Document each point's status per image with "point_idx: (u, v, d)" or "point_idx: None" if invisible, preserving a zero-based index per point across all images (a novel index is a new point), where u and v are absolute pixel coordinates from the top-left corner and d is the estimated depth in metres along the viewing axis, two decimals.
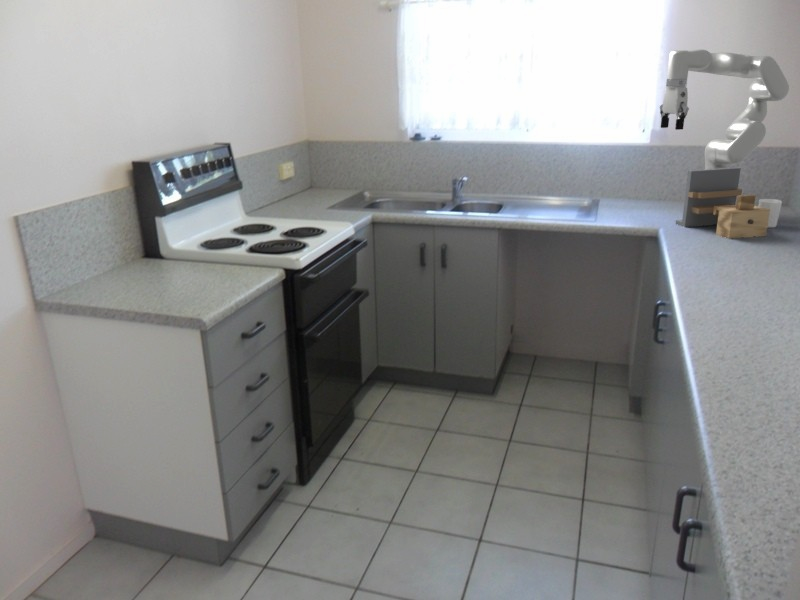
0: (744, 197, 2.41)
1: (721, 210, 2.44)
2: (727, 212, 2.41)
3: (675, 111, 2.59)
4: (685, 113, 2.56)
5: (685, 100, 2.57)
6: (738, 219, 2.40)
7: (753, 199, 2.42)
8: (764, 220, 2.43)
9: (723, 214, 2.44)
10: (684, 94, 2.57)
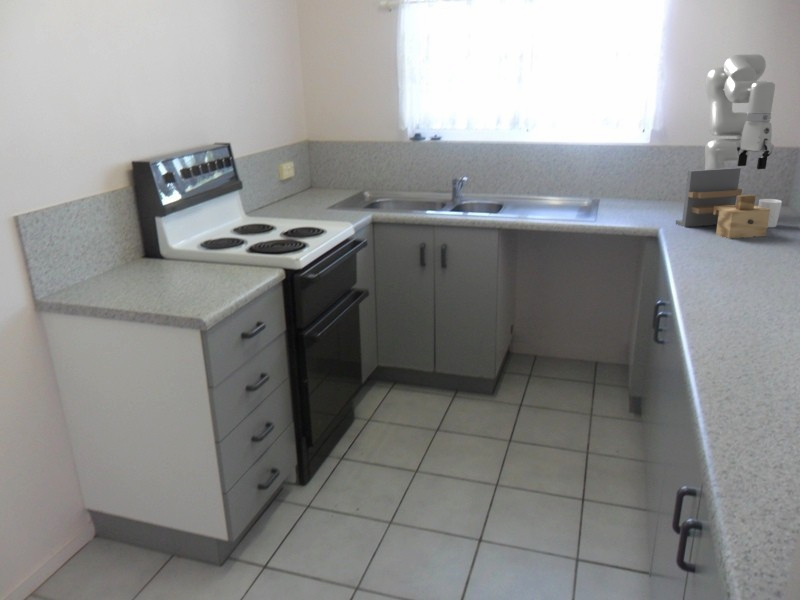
0: (744, 197, 2.41)
1: (721, 210, 2.44)
2: (727, 212, 2.41)
3: (757, 149, 2.32)
4: (769, 151, 2.29)
5: (769, 137, 2.31)
6: (738, 219, 2.40)
7: (753, 199, 2.42)
8: (764, 220, 2.43)
9: (723, 214, 2.44)
10: (768, 130, 2.31)
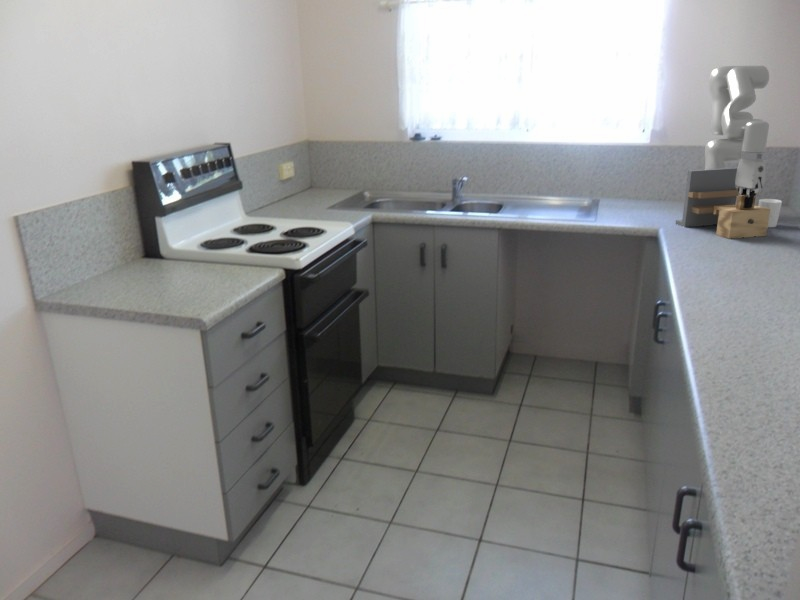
0: (744, 197, 2.41)
1: (721, 210, 2.44)
2: (727, 212, 2.41)
3: (751, 186, 2.37)
4: None
5: (763, 175, 2.35)
6: (738, 218, 2.40)
7: (753, 198, 2.42)
8: (764, 220, 2.43)
9: (723, 214, 2.43)
10: (762, 168, 2.35)
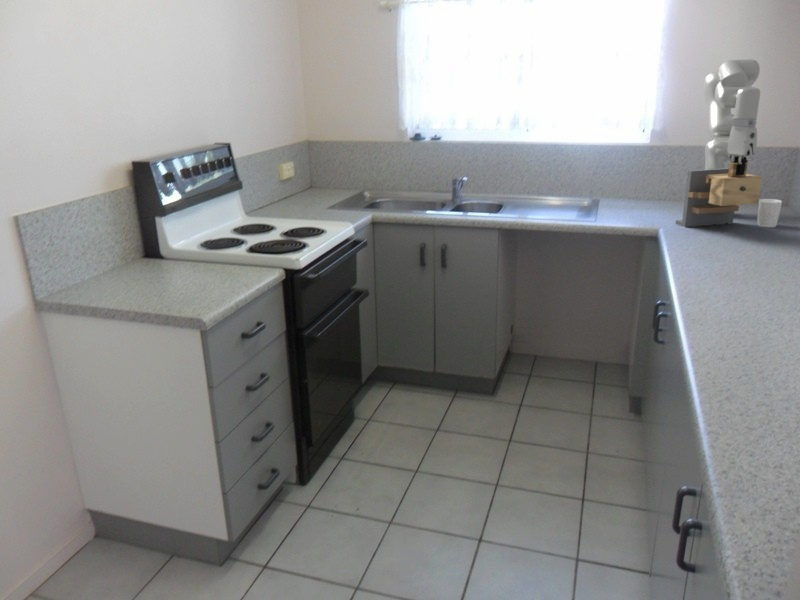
0: (736, 164, 2.43)
1: (713, 178, 2.46)
2: (719, 179, 2.43)
3: (743, 153, 2.39)
4: None
5: (754, 141, 2.37)
6: (730, 186, 2.42)
7: (745, 166, 2.44)
8: (756, 187, 2.45)
9: (715, 181, 2.46)
10: (753, 135, 2.37)
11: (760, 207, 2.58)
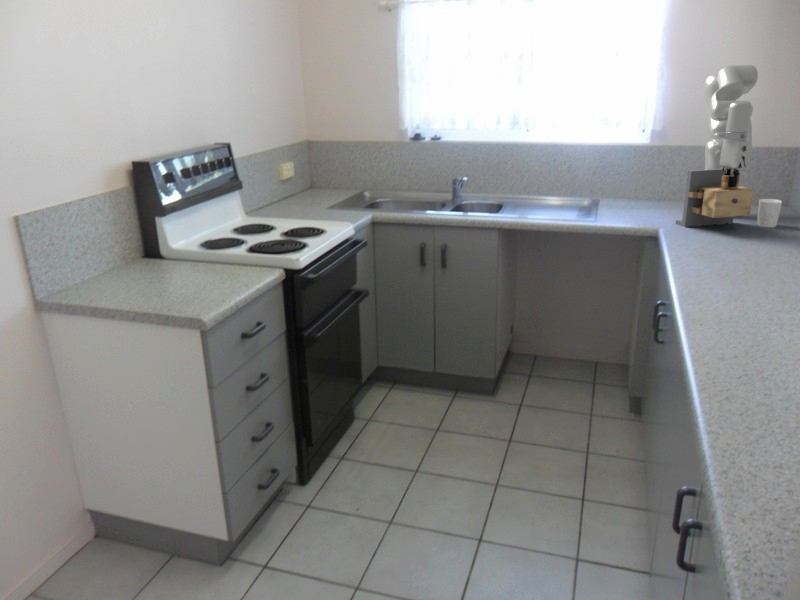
0: (728, 177, 2.48)
1: (706, 190, 2.51)
2: (712, 192, 2.48)
3: (735, 166, 2.43)
4: None
5: (746, 154, 2.42)
6: (722, 198, 2.47)
7: (737, 179, 2.49)
8: (748, 199, 2.50)
9: (708, 194, 2.50)
10: (745, 148, 2.42)
11: (760, 207, 2.58)
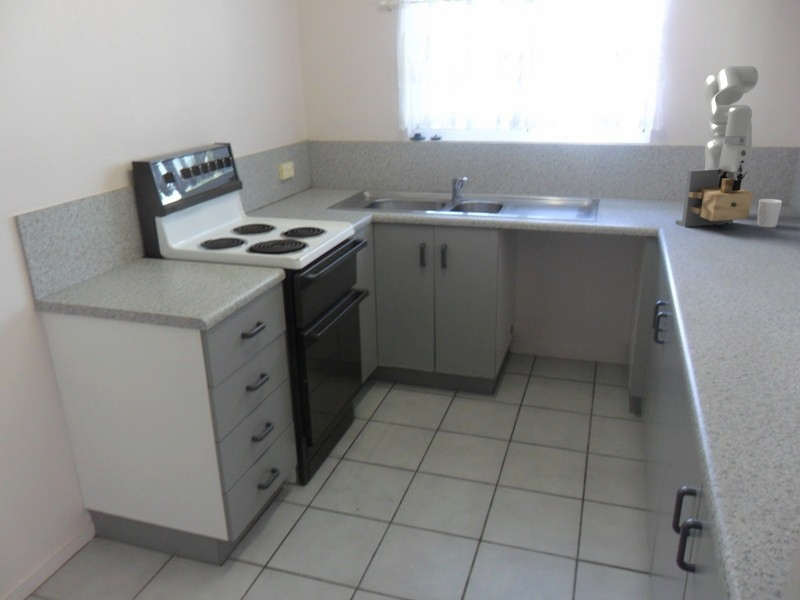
0: (728, 180, 2.48)
1: (706, 192, 2.51)
2: (711, 195, 2.49)
3: (734, 170, 2.44)
4: (743, 174, 2.43)
5: (745, 159, 2.43)
6: (721, 202, 2.48)
7: None
8: (747, 203, 2.51)
9: (707, 196, 2.51)
10: (744, 152, 2.42)
11: (760, 207, 2.58)
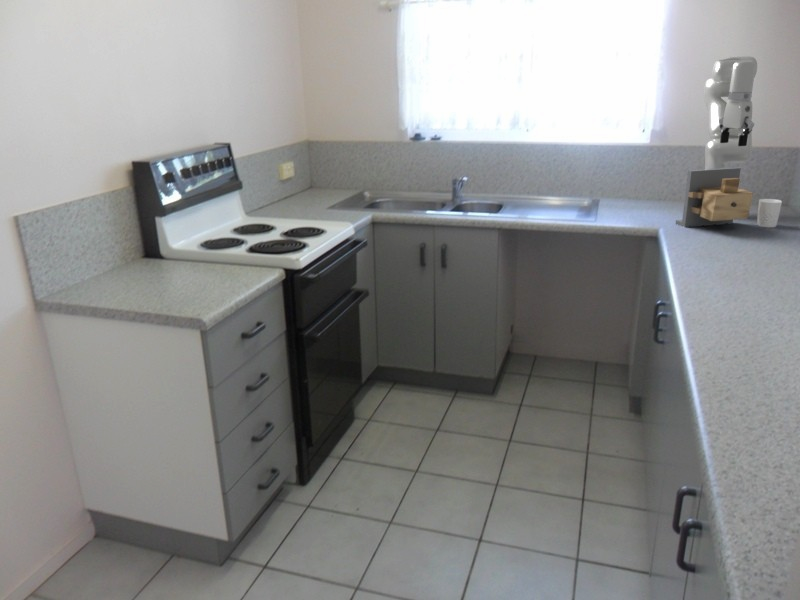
0: (728, 180, 2.48)
1: (706, 192, 2.51)
2: (711, 195, 2.49)
3: (738, 126, 2.41)
4: (750, 129, 2.38)
5: (750, 115, 2.39)
6: (721, 202, 2.48)
7: (737, 182, 2.49)
8: (747, 203, 2.51)
9: (707, 196, 2.51)
10: (749, 108, 2.39)
11: (760, 207, 2.58)
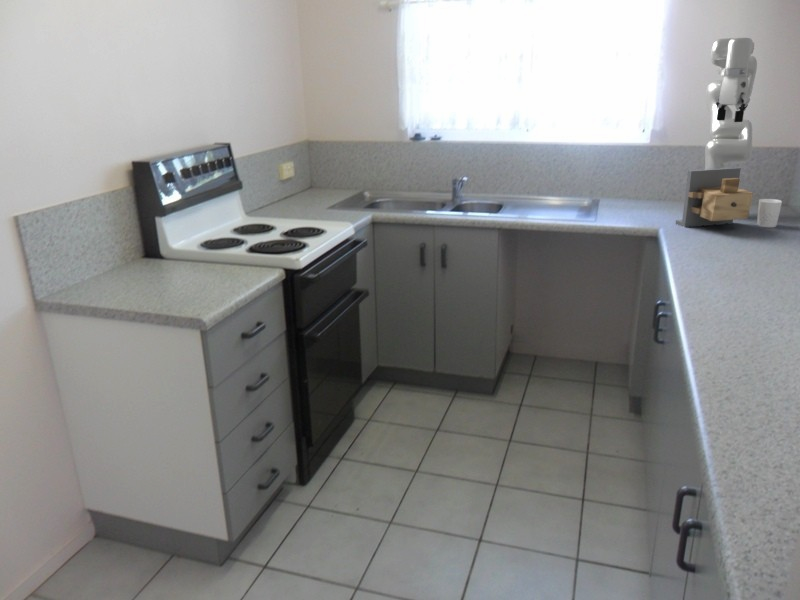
0: (728, 180, 2.48)
1: (706, 192, 2.51)
2: (711, 195, 2.49)
3: (734, 102, 2.44)
4: (746, 104, 2.41)
5: (745, 91, 2.42)
6: (721, 202, 2.48)
7: (737, 182, 2.49)
8: (747, 203, 2.51)
9: (707, 196, 2.51)
10: (744, 84, 2.42)
11: (760, 207, 2.58)
